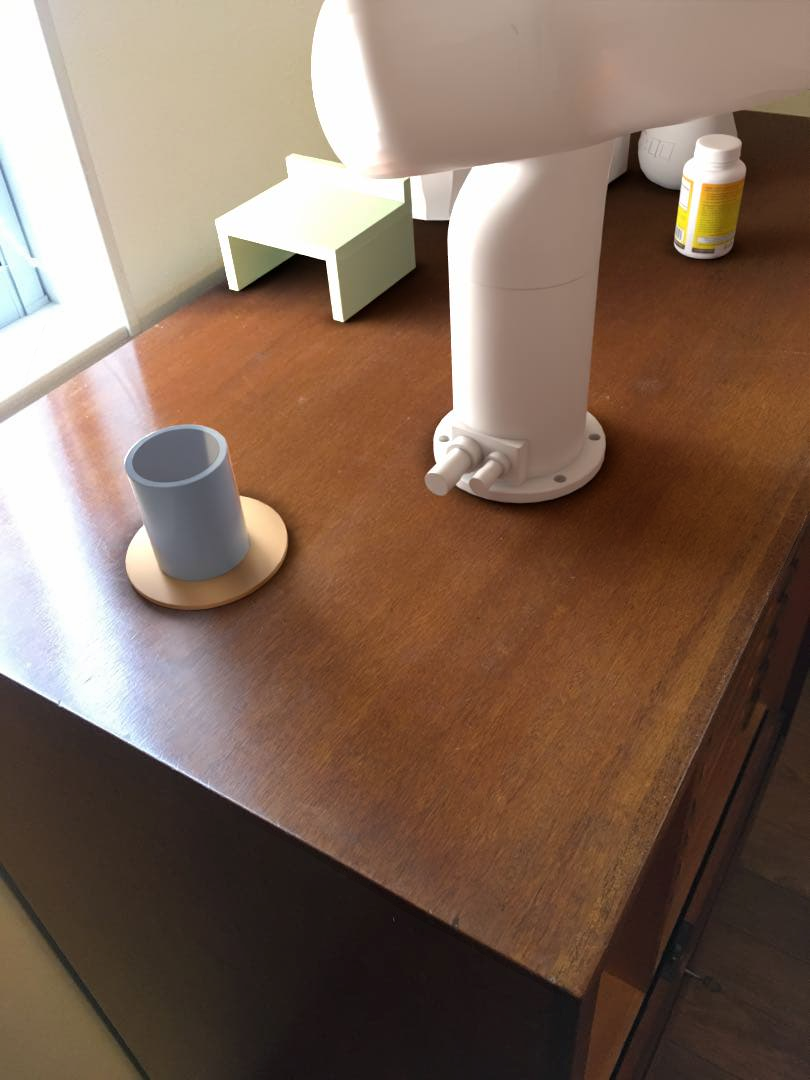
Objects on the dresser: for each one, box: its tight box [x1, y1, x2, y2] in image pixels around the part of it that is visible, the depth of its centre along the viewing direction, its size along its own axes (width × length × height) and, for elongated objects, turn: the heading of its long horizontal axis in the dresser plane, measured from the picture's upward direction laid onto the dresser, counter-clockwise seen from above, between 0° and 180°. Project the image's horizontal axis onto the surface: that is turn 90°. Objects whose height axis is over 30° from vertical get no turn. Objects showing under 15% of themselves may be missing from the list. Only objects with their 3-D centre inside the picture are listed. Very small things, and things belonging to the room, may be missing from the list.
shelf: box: [214, 153, 417, 323], centre depth 89 cm, size 12×14×9 cm
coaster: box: [124, 495, 289, 611], centre depth 63 cm, size 11×11×1 cm
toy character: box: [637, 112, 738, 191], centre depth 99 cm, size 10×10×12 cm
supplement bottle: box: [673, 134, 747, 260], centre depth 88 cm, size 6×6×10 cm
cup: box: [123, 424, 250, 581], centre depth 60 cm, size 6×6×8 cm
